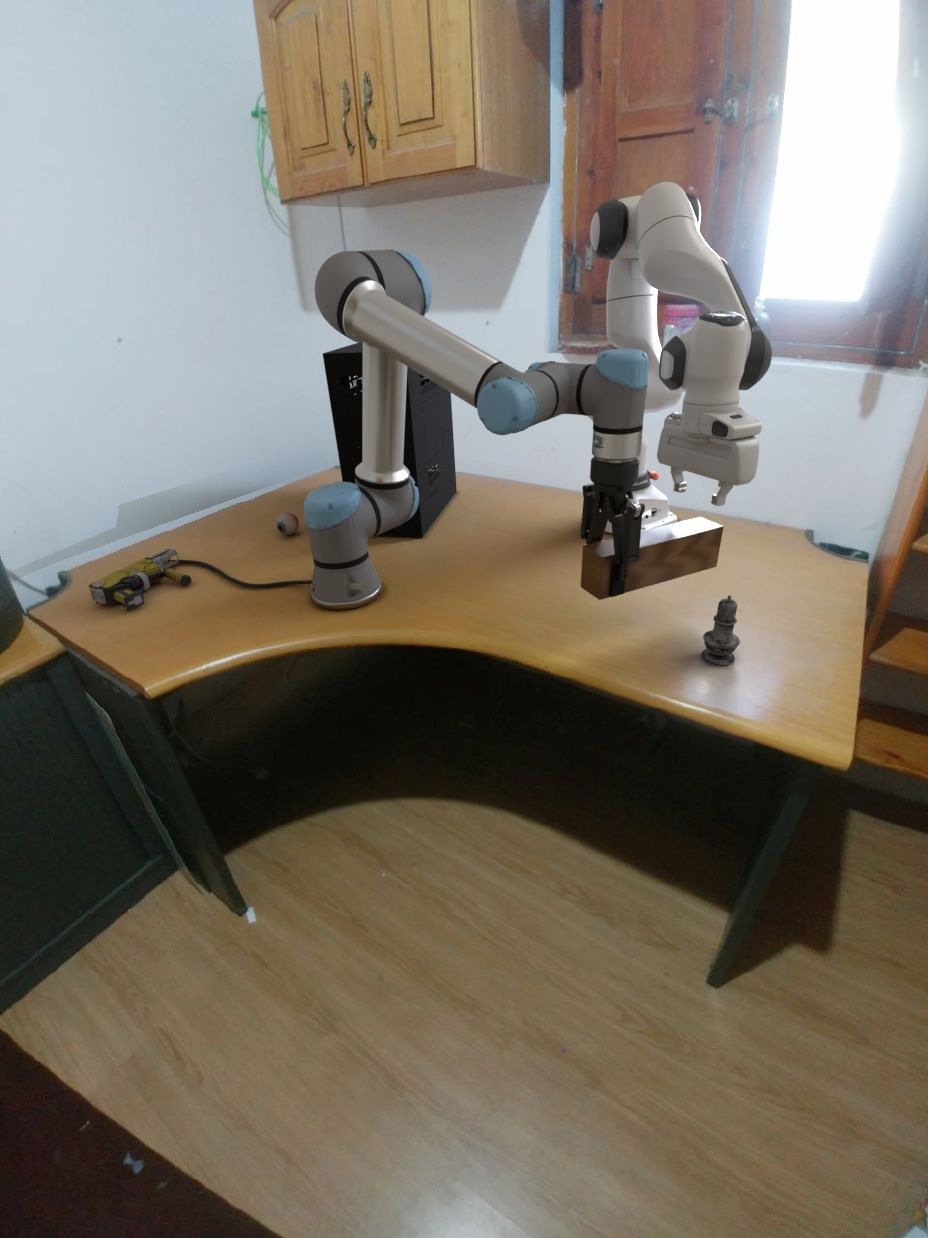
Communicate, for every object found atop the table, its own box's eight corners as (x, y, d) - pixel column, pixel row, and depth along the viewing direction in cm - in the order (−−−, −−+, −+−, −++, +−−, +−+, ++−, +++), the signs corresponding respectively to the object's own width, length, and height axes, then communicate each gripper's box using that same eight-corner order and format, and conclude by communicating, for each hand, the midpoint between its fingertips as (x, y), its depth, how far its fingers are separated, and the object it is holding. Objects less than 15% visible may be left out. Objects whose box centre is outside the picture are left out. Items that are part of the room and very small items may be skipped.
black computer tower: (422, 537, 158) (405, 350, 135) (350, 534, 162) (322, 353, 140) (456, 491, 189) (447, 333, 167) (395, 489, 194) (378, 336, 171)
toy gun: (215, 556, 146) (165, 546, 150) (137, 598, 126) (82, 584, 130) (218, 574, 148) (168, 563, 152) (142, 617, 128) (87, 603, 132)
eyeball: (273, 537, 164) (268, 516, 161) (287, 528, 169) (282, 508, 166) (291, 539, 161) (286, 518, 158) (305, 530, 166) (301, 510, 163)
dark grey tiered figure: (739, 667, 101) (752, 604, 95) (702, 664, 102) (713, 602, 96) (733, 648, 106) (745, 587, 100) (697, 646, 107) (708, 585, 101)
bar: (694, 555, 117) (700, 516, 113) (716, 566, 113) (723, 526, 108) (580, 587, 108) (582, 545, 104) (599, 600, 104) (602, 557, 100)
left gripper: (562, 447, 101) (558, 571, 113) (634, 475, 86) (621, 615, 98) (599, 441, 104) (591, 563, 116) (675, 466, 89) (657, 604, 101)
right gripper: (652, 412, 110) (646, 487, 116) (741, 430, 93) (727, 516, 100) (679, 408, 112) (671, 481, 118) (771, 425, 95) (755, 509, 102)
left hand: (605, 586), depth 107 cm, fingers closed on bar, 6 cm apart
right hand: (698, 498), depth 109 cm, fingers open, 8 cm apart
